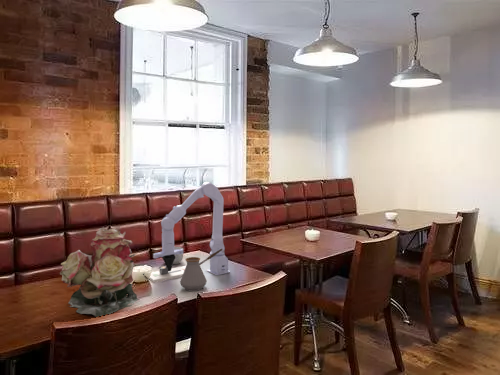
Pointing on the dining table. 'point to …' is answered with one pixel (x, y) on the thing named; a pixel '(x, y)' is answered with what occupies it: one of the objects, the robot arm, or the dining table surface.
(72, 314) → the dining table surface
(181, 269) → the plate
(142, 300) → the dining table surface
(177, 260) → the teacup
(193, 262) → the coffee pot
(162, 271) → the breaker handle
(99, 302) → the rose bouquet
